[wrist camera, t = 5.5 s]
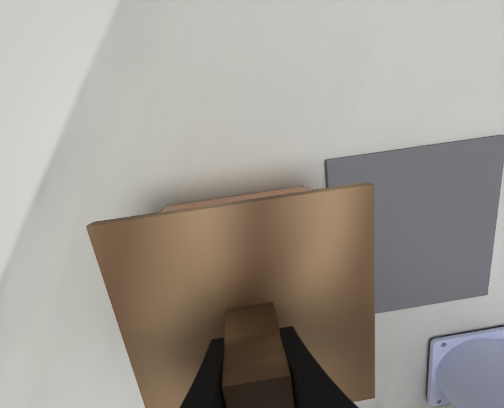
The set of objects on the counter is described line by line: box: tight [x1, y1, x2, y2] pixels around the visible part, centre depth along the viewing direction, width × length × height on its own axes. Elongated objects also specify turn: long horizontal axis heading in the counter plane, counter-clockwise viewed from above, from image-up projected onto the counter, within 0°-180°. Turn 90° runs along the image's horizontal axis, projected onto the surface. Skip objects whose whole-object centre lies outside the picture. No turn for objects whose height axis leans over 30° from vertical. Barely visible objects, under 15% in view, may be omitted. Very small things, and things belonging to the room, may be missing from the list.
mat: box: [325, 135, 504, 314], centre depth 20 cm, size 14×14×1 cm
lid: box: [86, 182, 375, 408], centre depth 11 cm, size 13×13×5 cm
